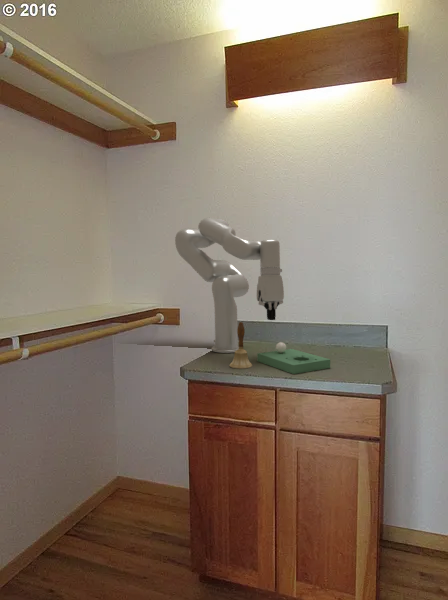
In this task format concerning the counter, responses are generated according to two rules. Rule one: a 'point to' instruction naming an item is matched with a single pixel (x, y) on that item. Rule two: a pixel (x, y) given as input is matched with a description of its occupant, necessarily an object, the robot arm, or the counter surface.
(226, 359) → the counter surface
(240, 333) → the hand bell
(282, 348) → the ball
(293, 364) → the block
